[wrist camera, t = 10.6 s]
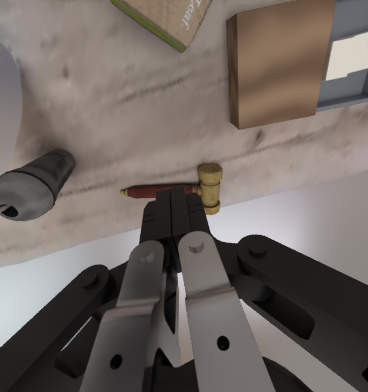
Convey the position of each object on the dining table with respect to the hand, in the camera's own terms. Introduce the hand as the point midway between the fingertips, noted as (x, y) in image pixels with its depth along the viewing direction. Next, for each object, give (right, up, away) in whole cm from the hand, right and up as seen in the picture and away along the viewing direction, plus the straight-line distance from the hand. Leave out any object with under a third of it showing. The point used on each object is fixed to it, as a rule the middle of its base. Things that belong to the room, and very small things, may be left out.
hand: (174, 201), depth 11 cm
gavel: (-2, +2, +32) cm, 32 cm away
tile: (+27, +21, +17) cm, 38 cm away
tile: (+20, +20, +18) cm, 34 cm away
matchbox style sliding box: (+14, +20, +21) cm, 32 cm away
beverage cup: (-22, +7, +27) cm, 36 cm away
